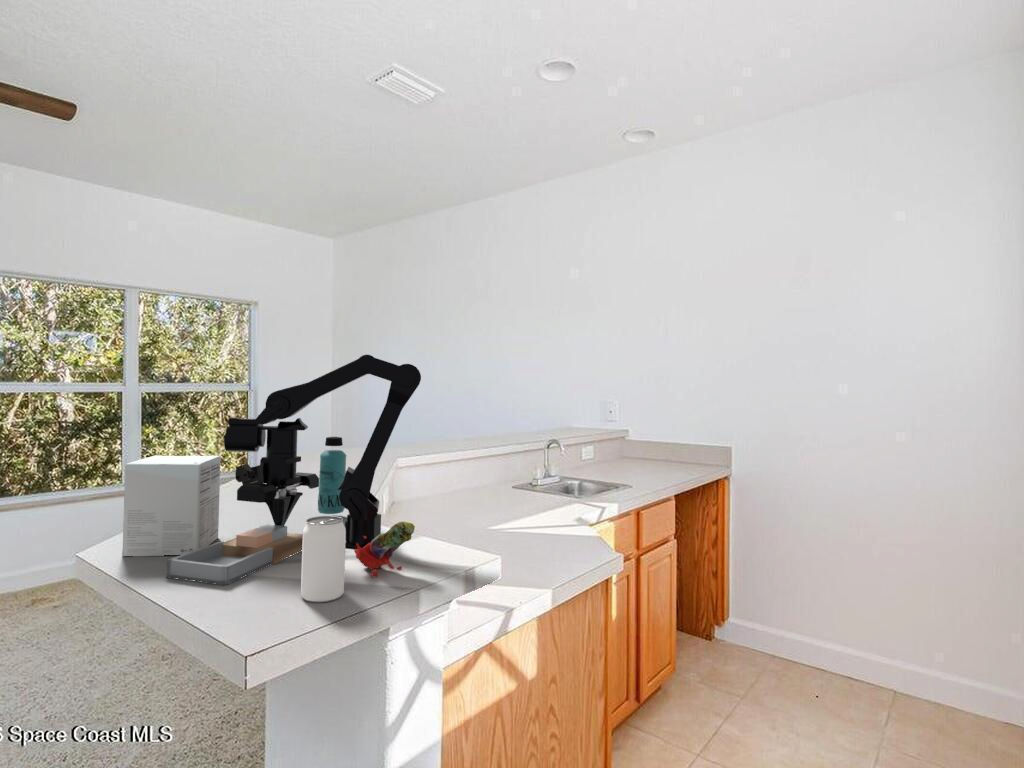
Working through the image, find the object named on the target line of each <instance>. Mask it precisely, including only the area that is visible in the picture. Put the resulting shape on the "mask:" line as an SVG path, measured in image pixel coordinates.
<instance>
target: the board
mask: <svg viewBox="0 0 1024 768" xmlns="http://www.w3.org/2000/svg"><path fill="white" fill-rule="evenodd" d="M222 542H223V555H228V556H236V557H247V556H249V555H251V554H254V553H256V552H259V551H261V550H264V549H266V548H269V547H271V548H273V562H272V564H271V565H275V564H277V563H279V562H281V561H283V560H282V559H284V558H286V557H288V558H289V556H290V555H292V556H294V555H296V554H295V553H297V552H299V551H301V550H302V544H303V533H302V534H301V533H293V532H287V536H286V537H284V538H281V539H279V540H276V541H273V542H271V543H268V544H266V545H263V546H261V547H258V548H252V547H244V546H236V537H235V538H232V539H229V540H226V541H222ZM301 552H302V551H301ZM299 553H300V552H299ZM293 554H294V555H293ZM297 554H298V553H297ZM290 557H291V556H290ZM286 559H287V558H286ZM280 560H281V561H280ZM284 560H285V559H284ZM278 561H279V562H278ZM276 562H277V563H276ZM274 563H275V564H274Z"/></svg>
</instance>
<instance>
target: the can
mask: <svg viewBox="0 0 1024 768" xmlns="http://www.w3.org/2000/svg"><path fill="white" fill-rule="evenodd" d="M305 522H306V524H305V525H304V527H303V531H302V534H303V544H302V551H301V552H302V553H301V577H300V579H301V582H300V583H301V585H300V586H301V587H300V596H301V598H302V599H303V600H304V601H306V602H308V603H313V604H314V603H315V604H316V603H318V604H319V603H320V604H321V603H329V602H333V601H337V600H339V599H340V598H341V597H342V596H343V594H344V592H345V575H346V574H345V570H346V569H345V568H346V547H345V542H346V528H345V523H344V518H343V517H341V516H337V515H336V516H335V515H320V516H315V517H314V516H312V517H310V518H308V519H306V520H305Z"/></svg>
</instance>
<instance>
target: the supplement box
mask: <svg viewBox="0 0 1024 768" xmlns="http://www.w3.org/2000/svg"><path fill="white" fill-rule="evenodd" d="M220 488H221V455H159V454H158V455H152V456H149V457H145V458H141V459H137V460H135V461H130V462H127V463H125V464H124V494H123V495H124V497H123V523H122V524H123V525H122V526H123V528H122V549H121V550H122V553H121V556H122V557H123V556H133V557H165V556H164V555H183V554H186V553H188V552H191V551H194V550H197V549H200V548H203V547H206V546H208V545H211V544H213V543H214V542H215V541H216V540H217V539H219V525H220V523H219V522H220V521H219V520H220V519H219V518H220V491H221V489H220Z"/></svg>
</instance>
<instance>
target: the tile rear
mask: <svg viewBox="0 0 1024 768" xmlns="http://www.w3.org/2000/svg"><path fill="white" fill-rule="evenodd" d="M253 530H263V531H273V539H272V542H273V541H276V540H279V539H281V538H284V537H286V536H287V533H288V525H284V526H280V525H275V524H271V523H270V524H269V523H267V524H264V525H262V526H259V527H256V528H253Z"/></svg>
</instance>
